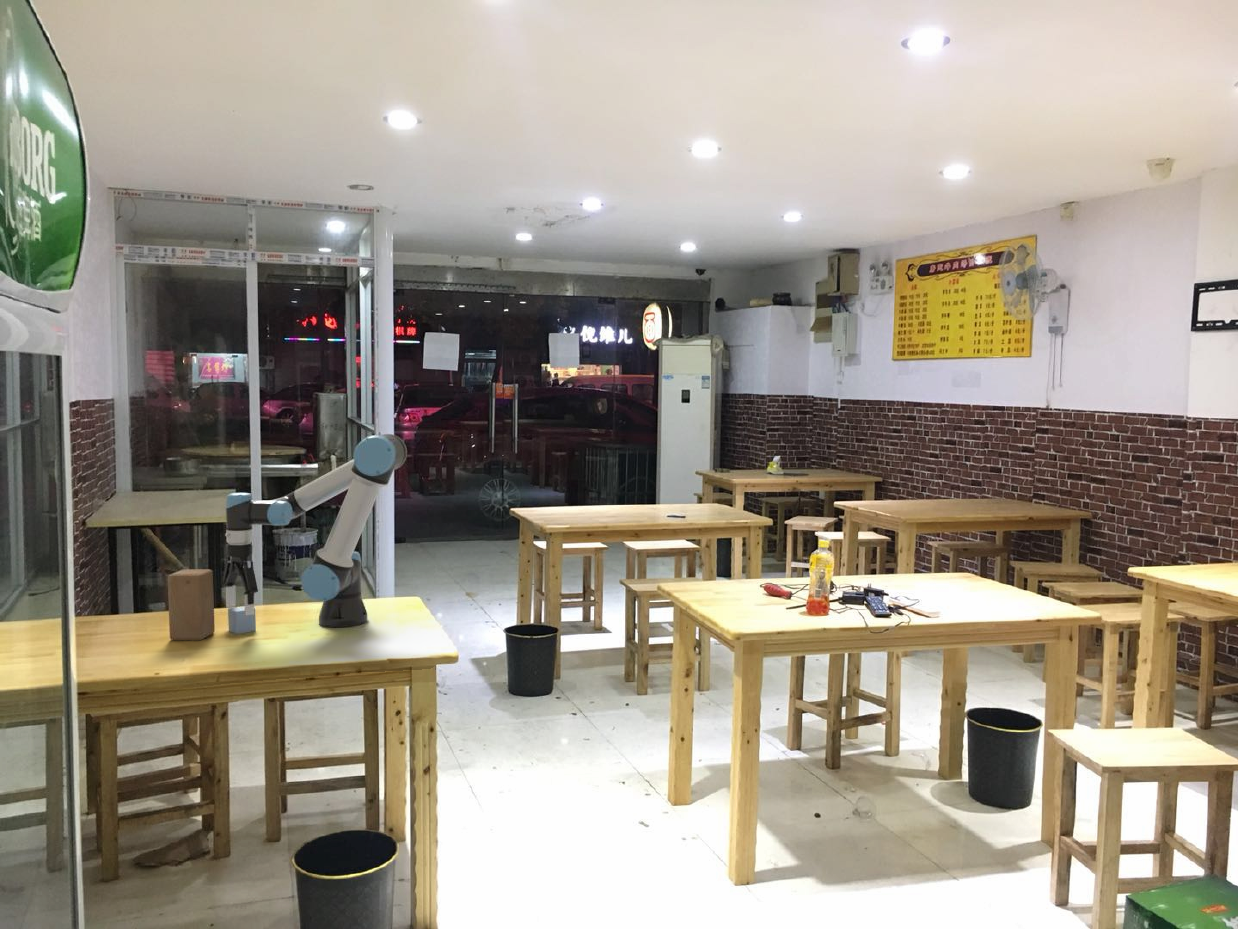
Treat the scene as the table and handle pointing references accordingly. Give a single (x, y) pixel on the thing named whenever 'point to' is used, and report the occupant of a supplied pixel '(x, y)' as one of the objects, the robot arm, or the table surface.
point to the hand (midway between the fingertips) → (240, 610)
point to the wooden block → (191, 604)
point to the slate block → (241, 620)
